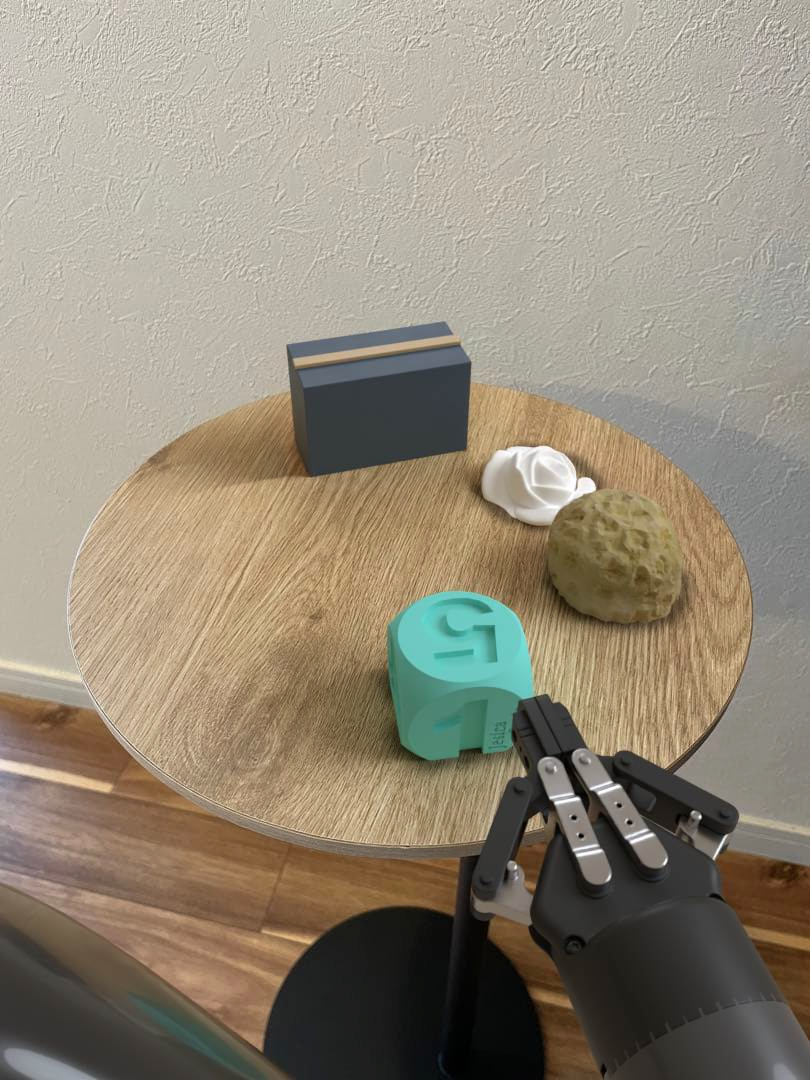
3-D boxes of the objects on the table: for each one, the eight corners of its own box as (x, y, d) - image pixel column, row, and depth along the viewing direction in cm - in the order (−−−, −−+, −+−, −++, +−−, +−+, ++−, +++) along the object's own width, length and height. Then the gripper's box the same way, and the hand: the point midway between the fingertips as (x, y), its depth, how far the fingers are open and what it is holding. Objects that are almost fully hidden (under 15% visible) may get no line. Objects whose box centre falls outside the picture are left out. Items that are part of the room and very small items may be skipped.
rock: (586, 677, 72) (670, 629, 64) (497, 554, 73) (568, 492, 65) (660, 619, 77) (745, 568, 69) (575, 506, 79) (650, 443, 71)
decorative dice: (404, 774, 61) (404, 692, 56) (387, 677, 67) (385, 595, 62) (527, 758, 62) (539, 676, 57) (500, 664, 68) (508, 582, 63)
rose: (466, 427, 82) (575, 412, 83) (464, 469, 85) (569, 454, 86) (502, 501, 74) (621, 483, 76) (499, 544, 77) (612, 525, 79)
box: (310, 487, 83) (302, 385, 76) (294, 441, 88) (285, 340, 81) (467, 460, 86) (472, 358, 79) (442, 416, 91) (445, 317, 84)
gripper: (889, 964, 35) (662, 627, 47) (548, 1076, 32) (402, 687, 45) (829, 1048, 40) (638, 723, 52) (529, 1151, 37) (403, 782, 50)
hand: (530, 707), depth 48 cm, fingers closed
